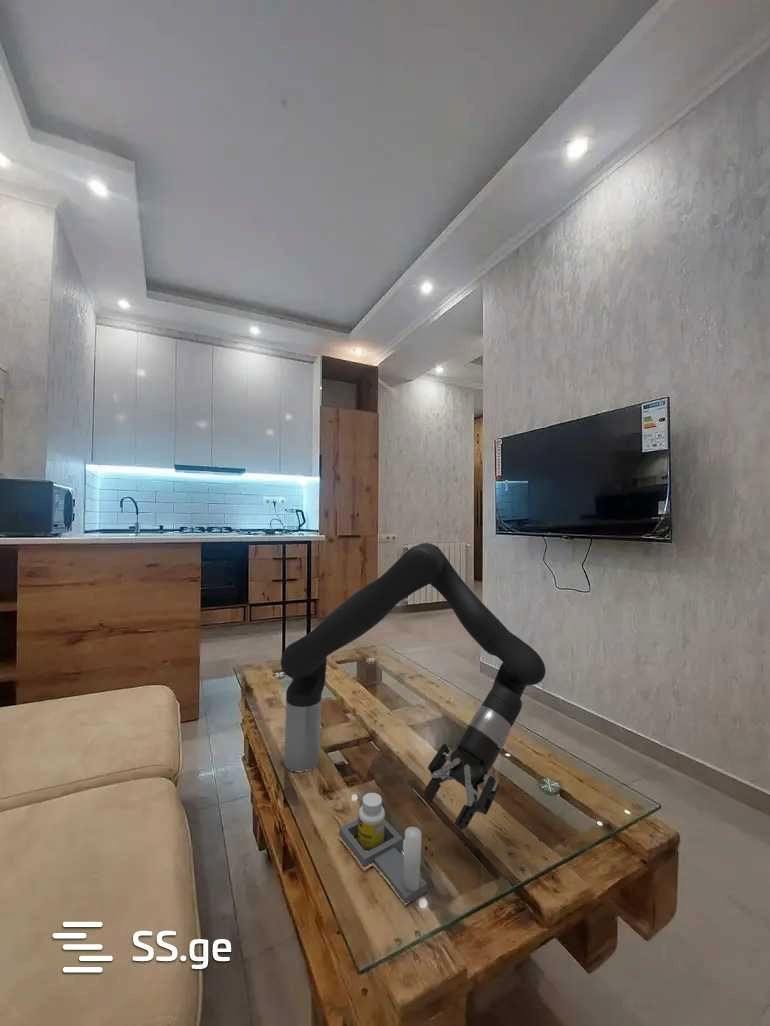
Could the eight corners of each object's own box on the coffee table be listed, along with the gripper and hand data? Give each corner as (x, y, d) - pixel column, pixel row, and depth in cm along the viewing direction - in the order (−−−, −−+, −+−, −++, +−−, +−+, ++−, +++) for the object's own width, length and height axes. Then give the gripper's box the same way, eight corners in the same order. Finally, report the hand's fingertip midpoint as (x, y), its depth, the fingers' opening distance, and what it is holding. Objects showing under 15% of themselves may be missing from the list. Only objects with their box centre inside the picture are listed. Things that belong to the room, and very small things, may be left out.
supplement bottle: (351, 844, 88) (353, 797, 88) (371, 831, 92) (373, 786, 92) (369, 861, 84) (371, 812, 84) (389, 846, 88) (391, 799, 88)
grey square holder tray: (339, 839, 89) (341, 787, 89) (376, 820, 95) (378, 771, 94) (395, 913, 74) (397, 850, 73) (435, 886, 79) (438, 827, 79)
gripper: (451, 711, 92) (407, 783, 85) (505, 743, 80) (460, 829, 74) (467, 729, 95) (426, 799, 89) (522, 762, 84) (479, 845, 77)
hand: (441, 813), depth 81 cm, fingers open, 8 cm apart
